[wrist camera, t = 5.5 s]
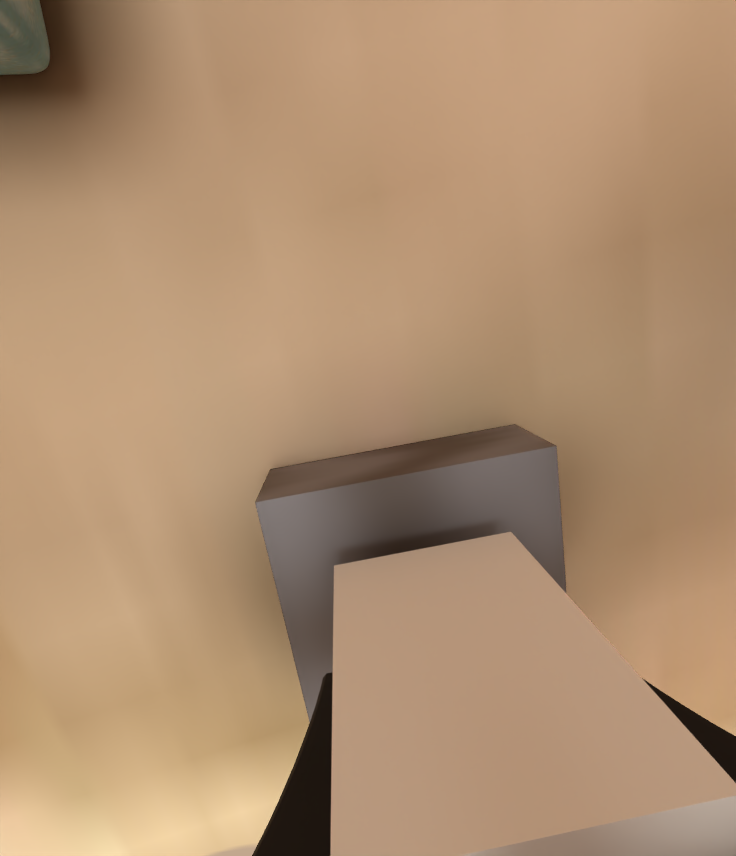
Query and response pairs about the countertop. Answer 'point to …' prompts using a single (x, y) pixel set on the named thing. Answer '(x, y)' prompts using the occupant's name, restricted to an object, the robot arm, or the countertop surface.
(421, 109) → the countertop surface
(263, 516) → the charcoal plinth
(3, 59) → the flower pot
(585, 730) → the cream block
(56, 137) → the countertop surface
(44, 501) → the countertop surface
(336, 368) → the countertop surface
